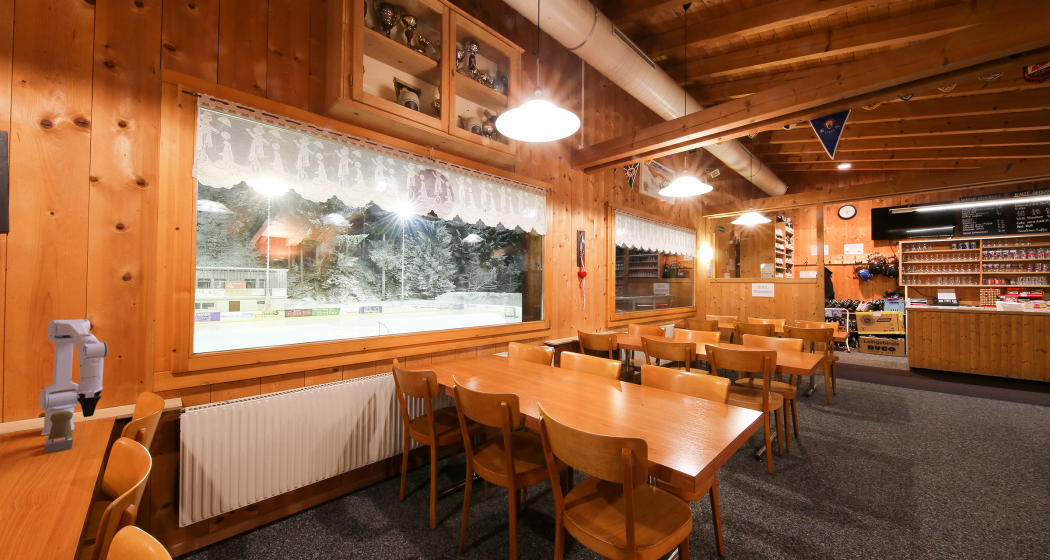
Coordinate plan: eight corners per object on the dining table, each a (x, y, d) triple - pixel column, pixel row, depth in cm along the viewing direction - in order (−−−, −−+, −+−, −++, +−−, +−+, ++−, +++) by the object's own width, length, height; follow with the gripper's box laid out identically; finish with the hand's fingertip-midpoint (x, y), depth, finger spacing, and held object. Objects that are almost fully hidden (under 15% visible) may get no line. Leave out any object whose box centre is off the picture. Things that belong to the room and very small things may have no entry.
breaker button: (53, 445, 131) (53, 439, 131) (65, 443, 133) (65, 437, 133) (52, 447, 129) (53, 441, 129) (64, 445, 131) (65, 439, 131)
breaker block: (45, 448, 131) (46, 439, 131) (72, 444, 135) (73, 434, 135) (44, 453, 127) (44, 443, 127) (72, 448, 131) (72, 439, 131)
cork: (77, 440, 139) (79, 409, 139) (56, 446, 133) (58, 414, 133) (63, 439, 140) (65, 409, 140) (41, 445, 134) (43, 414, 134)
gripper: (74, 375, 139) (72, 412, 138) (73, 381, 129) (70, 421, 128) (103, 372, 144) (101, 408, 143) (103, 378, 134) (101, 416, 134)
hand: (88, 414), depth 136 cm, fingers open, 7 cm apart
